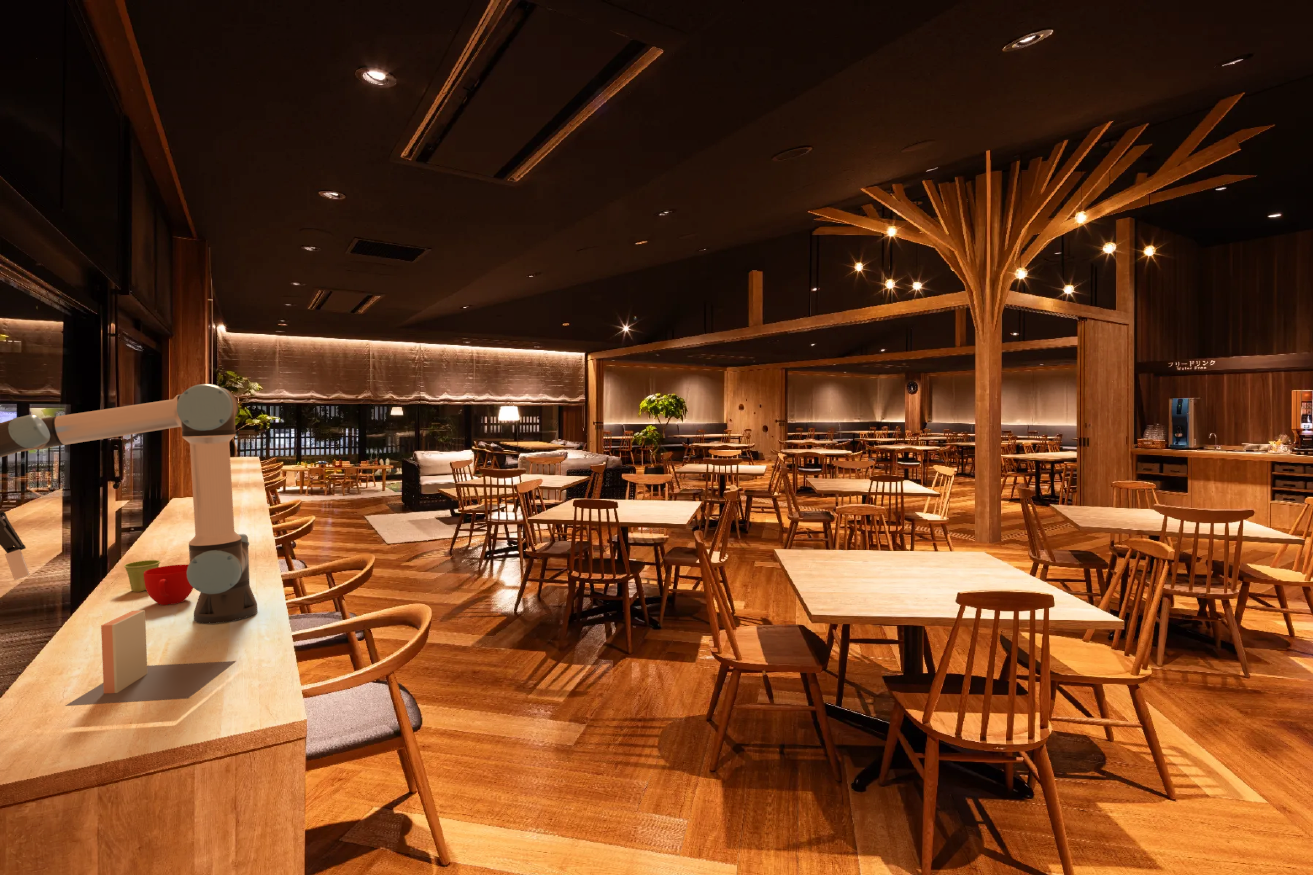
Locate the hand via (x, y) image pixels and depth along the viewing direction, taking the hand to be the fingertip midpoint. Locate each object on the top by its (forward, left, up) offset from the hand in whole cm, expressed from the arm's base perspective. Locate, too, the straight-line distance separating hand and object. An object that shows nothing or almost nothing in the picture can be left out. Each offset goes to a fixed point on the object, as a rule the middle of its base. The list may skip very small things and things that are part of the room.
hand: (5, 575), depth 150 cm
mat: (-26, +33, -21) cm, 47 cm away
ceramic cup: (-31, -39, -21) cm, 54 cm away
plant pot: (-25, -64, -21) cm, 72 cm away
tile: (-21, +30, -20) cm, 42 cm away
